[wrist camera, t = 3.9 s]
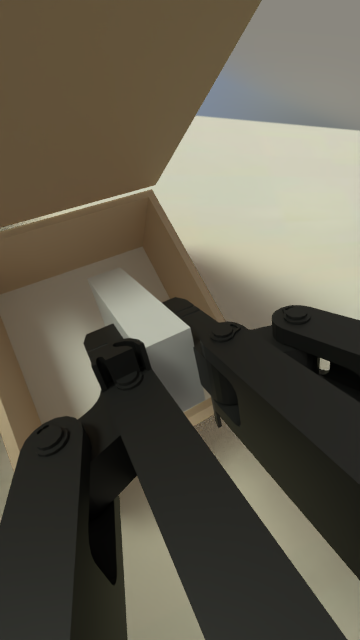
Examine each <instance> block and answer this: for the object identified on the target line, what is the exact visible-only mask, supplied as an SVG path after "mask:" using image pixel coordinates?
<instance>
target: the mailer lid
mask: <svg viewBox="0 0 360 640" xmlns="http://www.w3.org/2000/svg"><path fill="white" fill-rule="evenodd" d="M261 1H262V0H0V227H4V226H8V225H11V224H15V223H19V222H22V221H26V220H30V219H33V218H37V217H41V216H44V215H48V214H51V213H55V212H59V211H62V210H66V209H70V208H73V207H77V206H81V205H84V204H88V203H92V202H95V201H99V200H102V199H106V198H110V197H113V196H117V195H121V194H124V193H128V192H132V191H135V190H139V189H143V188H146V187H150V186H153V185H156V183H157V181H158V180H159V178H160V176H161V174H162V173H163V171H164V169H165V168H166V166H167V164H168V162H169V161H170V159H171V157H172V155H173V154H174V152H175V150H176V148H177V147H178V145H179V143H180V141H181V140H182V138H183V136H184V134H185V133H186V131H187V129H188V128H189V126H190V124H191V122H192V121H193V119H194V117H195V115H196V113H197V112H198V110H199V108H200V106H201V105H202V103H203V101H204V100H205V98H206V96H207V95H208V93H209V91H210V89H211V87H212V86H213V84H214V82H215V81H216V79H217V77H218V75H219V74H220V72H221V70H222V68H223V67H224V65H225V63H226V61H227V60H228V58H229V56H230V55H231V53H232V51H233V49H234V48H235V46H236V44H237V42H238V40H239V39H240V37H241V35H242V33H243V32H244V30H245V28H246V27H247V25H248V23H249V22H250V20H251V18H252V16H253V15H254V13H255V11H256V9H257V7H258V6H259V4H260V2H261Z"/></svg>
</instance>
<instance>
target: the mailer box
mask: <svg viewBox="0 0 360 640" xmlns="http://www.w3.org/2000/svg"><path fill="white" fill-rule="evenodd" d="M119 267H120V268H122V269H123V270H124V271H125V272H126V273H127V274H129V275H130V276H131V277H132V278H133V279H134V280H136V281H137V282H138V283H139V284H140V285H141V286H143V287H144V288H145V289H146V290H147V291H148V292H150V293H151V294H152V295H153V296H154V297H155V298H157V299H158V300H159V301H160V302H161V303H162V302H164V301H167V300H169V299H172V298H174V297H178V298H182V299H186V300H188V301H189V302H191V303H192V304H193V305H194V306H196V307H198V308H199V309H200V310H202V311H203V312H205V313H206V314H207V315H209V316H210V317H212V318H213V319H214V320H216V321H217V322H226V321H225V319H224V317H223V315H222V314H221V312H220V310H219V308H218V307H217V305H216V303H215V301H214V299H213V298H212V296H211V294H210V292H209V290H208V289H207V287H206V285H205V283H204V282H203V280H202V278H201V276H200V274H199V273H198V271H197V269H196V267H195V266H194V264H193V262H192V260H191V258H190V257H189V255H188V253H187V251H186V249H185V248H184V246H183V244H182V242H181V241H180V239H179V237H178V235H177V233H176V232H175V230H174V228H173V226H172V224H171V223H170V221H169V219H168V217H167V216H166V214H165V212H164V210H163V208H162V207H161V205H160V203H159V201H158V199H157V198H156V196H155V194H154V192H153V191H152V190H148V191H144V192H141V193H137V194H134V195H130V196H126V197H123V198H119V199H116V200H112V201H108V202H105V203H101V204H98V205H94V206H90V207H87V208H83V209H80V210H76V211H73V212H69V213H65V214H62V215H58V216H55V217H51V218H47V219H44V220H40V221H37V222H33V223H29V224H26V225H22V226H19V227H15V228H11V229H8V230H4V231H1V232H0V433H1V436H2V439H3V442H4V445H5V448H6V451H7V454H8V457H9V459H10V462H11V465H12V468H13V471H14V472H15V468H16V464H17V461H18V457H19V453H20V450H21V448H22V446H23V444H24V442H25V440H26V439H27V438H28V437H29V436H30V435H31V433H32V432H33V431H34V430H36V429H37V428H38V427H40V426H41V425H42V424H44V423H45V422H48V421H50V420H52V419H54V418H57V417H63V416H69V417H74V418H76V419H77V420H78V419H79V418H80V417H81V416H83V415H84V414H85V413H86V412H88V411H89V410H90V409H91V408H92V407H93V406H94V404H95V403H96V402H97V400H98V398H99V396H100V392H101V387H100V385H99V383H98V381H97V378H96V376H95V374H94V372H93V369H92V367H91V361H90V359H89V356H88V354H87V351H86V349H85V347H84V344H83V343H84V340H85V337H86V334H88V333H91V332H93V331H96V330H98V329H101V328H103V327H105V324H104V321H103V319H102V316H101V313H100V311H99V308H98V306H97V303H96V300H95V298H94V295H93V292H92V290H91V287H90V285H89V282H88V279H87V278H90V277H93V276H96V275H99V274H102V273H104V272H107V271H110V270H113V269H116V268H119ZM203 391H204V395H205V400H204V401H202V402H201V403H199V404H197V405H195V406H193V407H191V408H190V409H188V410H186V411H184V412H183V413H184V414H185V415H186V417H187V418H188V420H189V421H190V422H191V424H192V425H193V426H195V425H197V424H198V423H200V422H202V421H204V420H205V419H207V418H209V417H211V416H212V415H214V410H213V405H212V400H211V395H210V394H209V393H208V392H207V391H206V390H205V389H204V388H203Z"/></svg>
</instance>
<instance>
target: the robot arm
mask: <svg viewBox="0 0 360 640" xmlns="http://www.w3.org/2000/svg"><path fill="white" fill-rule="evenodd" d="M87 279H88V282H89V285H90V287H91V290H92V292H93V295H94V298H95V300H96V303H97V306H98V308H99V311H100V313H101V316H102V319H103V321H104V324H105V327H103V328H101V329H98V330H96V331H93V332H91V333H88V334H86V337H85V340H84V343H83V344H84V347H85V349H86V351H87V354H88V356H89V359H90V361H91V367H92V369H93V372H94V374H95V376H96V378H97V381H98V383H99V385H100V387H101V392H100V396H99V398H98V400H97V402H96V403H95V404H94V406H93V407H92V408H91V409H90V410H89V411H88V412H86V413H85V414H84V415H83V416H81V417H80V418H79V419H78V420H77V419H76V418H74V417H69V416H63V417H57V418H54V419H52V420H50V421H48V422H45V423H44V424H42V425H41V426H40V427H38V428H37V429H36V430H34V431H33V432H32V433H31V435H30V436H29V437H28V438H27V439H26V440H25V442H24V444H23V446H22V448H21V450H20V453H19V457H18V461H17V464H16V468H15V472H14V475H13V479H12V483H11V486H10V490H9V494H8V497H7V501H6V505H5V509H4V512H3V516H2V520H1V523H0V640H127V623H126V605H125V588H124V570H123V553H122V535H121V518H120V500H119V494H120V493H121V492H122V491H123V490H124V488H125V487H126V486H127V485H128V484H129V483H130V482H131V481H132V480H133V479H134V478H135V477H136V476H138V478H139V481H140V483H141V486H142V488H143V491H144V493H145V495H146V498H147V500H148V503H149V505H150V507H151V510H152V512H153V515H154V517H155V519H156V522H157V524H158V527H159V529H160V532H161V534H162V536H163V539H164V541H165V544H166V546H167V548H168V551H169V553H170V556H171V558H172V560H173V563H174V565H175V568H176V570H177V573H178V575H179V577H180V580H181V582H182V585H183V587H184V589H185V592H186V594H187V597H188V599H189V601H190V604H191V606H192V609H193V611H194V613H195V616H196V618H197V621H198V623H199V626H200V628H201V630H202V633H203V635H204V638H205V640H347V639H346V637H345V636H344V634H343V633H342V632H341V630H340V629H339V627H338V626H337V625H336V623H335V622H334V621H333V619H332V618H331V616H330V615H329V614H328V612H327V611H326V609H325V608H324V607H323V605H322V604H321V603H320V601H319V600H318V598H317V597H316V596H315V594H314V593H313V591H312V590H311V589H310V587H309V586H308V585H307V583H306V582H305V580H304V579H303V578H302V576H301V575H300V573H299V572H298V571H297V569H296V568H295V567H294V565H293V564H292V562H291V561H290V560H289V558H288V557H287V555H286V554H285V553H284V551H283V550H282V548H281V547H280V546H279V544H278V543H277V542H276V540H275V539H274V537H273V536H272V535H271V533H270V532H269V530H268V529H267V528H266V526H265V525H264V524H263V522H262V521H261V519H260V518H259V517H258V515H257V514H256V512H255V511H254V510H253V508H252V507H251V506H250V504H249V503H248V501H247V500H246V499H245V497H244V496H243V494H242V493H241V492H240V490H239V489H238V488H237V486H236V485H235V483H234V482H233V481H232V479H231V478H230V476H229V475H228V474H227V472H226V471H225V469H224V468H223V467H222V465H221V464H220V463H219V461H218V460H217V458H216V457H215V456H214V454H213V453H212V451H211V450H210V449H209V447H208V446H207V445H206V443H205V442H204V440H203V439H202V438H201V436H200V435H199V433H198V432H197V431H196V429H195V428H194V427H193V425H192V424H191V422H190V421H189V420H188V418H187V417H186V415H185V414H184V413H183V412H184V411H186V410H188V409H190V408H191V407H193V406H195V405H197V404H199V403H201V402H202V401H204V400H205V395H204V391H203V388H204V389H205V390H206V391H207V392H208V393H209V394H210V395H211V400H212V405H213V410H214V415H215V421H216V424H217V426H218V428H219V427H221V426H222V425H221V419H220V417H221V418H222V419H223V420H224V421H225V423H226V424H227V425H228V426H229V427H230V429H231V430H232V431H233V432H234V433H235V434H236V436H237V437H238V438H239V439H240V440H241V441H242V443H243V444H244V445H245V446H246V447H247V448H248V450H249V451H250V452H251V453H252V454H253V455H254V457H255V458H256V459H257V460H258V461H259V463H260V464H261V465H262V466H263V467H264V468H265V470H266V471H267V472H268V473H269V474H270V475H271V477H272V478H273V479H274V480H275V481H276V482H277V484H278V485H279V486H280V487H281V488H282V489H283V491H284V492H285V493H286V494H287V495H288V497H289V498H290V499H291V500H292V501H293V502H294V504H295V505H296V506H297V507H298V508H299V509H300V511H301V512H302V513H303V514H304V515H305V516H306V518H307V519H308V520H309V521H310V522H311V523H312V525H313V526H314V527H315V528H316V529H317V531H318V532H319V533H320V534H321V535H322V536H323V538H324V539H325V540H326V541H327V542H328V543H329V545H330V546H331V547H332V548H333V549H334V550H335V552H336V553H337V554H338V555H339V556H340V558H341V559H342V560H343V561H344V562H345V563H346V565H347V566H348V567H349V568H350V569H351V570H352V572H353V573H354V574H355V575H356V576H357V577H358V579H359V580H360V320H356V319H352V318H349V317H345V316H341V315H338V314H334V313H330V312H327V311H323V310H319V309H315V308H312V307H307V306H301V305H295V306H294V305H291V306H286V307H283V308H280V309H279V310H277V311H275V312H274V314H273V315H272V325H271V326H267V327H262V328H258V329H253V330H249V329H247V328H245V327H244V326H242V325H240V324H238V323H234V322H217V321H216V320H214V319H213V318H212V317H210V316H209V315H207V314H206V313H205V312H203V311H202V310H200V309H199V308H198V307H196V306H194V305H193V304H192V303H191V302H189V301H188V300H186V299H182V298H178V297H174V298H172V299H169V300H167V301H164V302H162V303H161V302H160V301H159V300H158V299H157V298H155V297H154V296H153V295H152V294H151V293H150V292H148V291H147V290H146V289H145V288H144V287H143V286H141V285H140V284H139V283H138V282H137V281H136V280H134V279H133V278H132V277H131V276H130V275H129V274H127V273H126V272H125V271H124V270H123V269H122V268H120V267H119V268H116V269H113V270H110V271H107V272H104V273H102V274H99V275H96V276H93V277H90V278H87ZM320 358H322V359H325V360H327V361H330V370H327V371H325V370H321V369H319V365H320Z"/></svg>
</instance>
